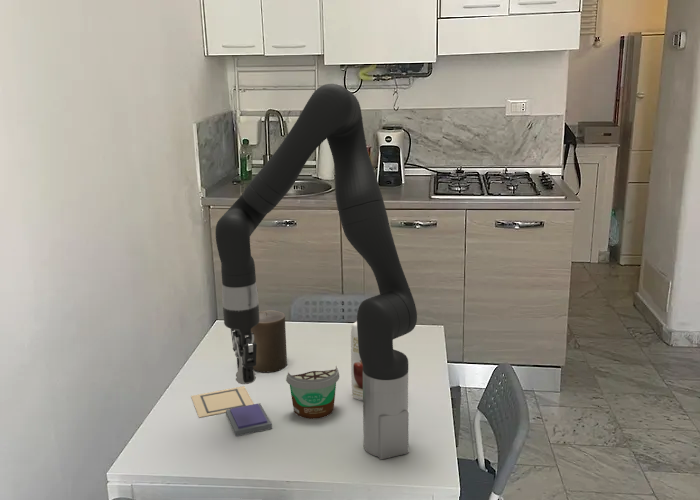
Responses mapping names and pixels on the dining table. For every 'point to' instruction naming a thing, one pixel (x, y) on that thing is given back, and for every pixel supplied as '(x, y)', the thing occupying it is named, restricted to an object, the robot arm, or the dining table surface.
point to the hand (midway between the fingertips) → (245, 376)
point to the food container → (313, 393)
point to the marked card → (221, 401)
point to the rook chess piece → (240, 372)
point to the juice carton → (356, 365)
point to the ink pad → (248, 419)
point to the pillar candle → (270, 341)
